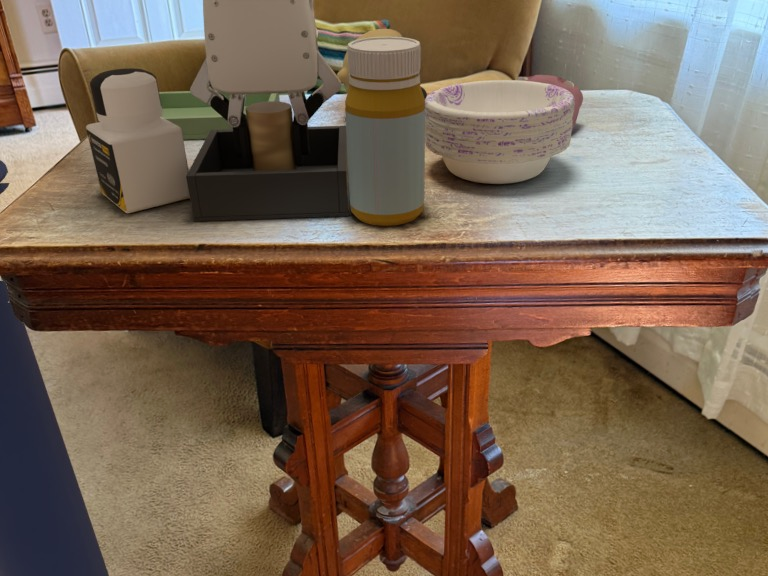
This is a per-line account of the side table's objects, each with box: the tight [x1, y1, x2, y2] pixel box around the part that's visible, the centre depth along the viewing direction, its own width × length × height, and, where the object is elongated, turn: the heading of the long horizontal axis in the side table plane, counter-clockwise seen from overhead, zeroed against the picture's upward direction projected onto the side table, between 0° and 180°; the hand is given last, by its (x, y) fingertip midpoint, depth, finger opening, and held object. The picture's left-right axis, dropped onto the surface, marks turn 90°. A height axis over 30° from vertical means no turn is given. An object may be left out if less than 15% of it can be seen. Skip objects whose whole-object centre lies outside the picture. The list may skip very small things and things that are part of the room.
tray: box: [159, 90, 281, 141], centre depth 98 cm, size 18×14×3 cm
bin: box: [186, 125, 349, 222], centre depth 76 cm, size 15×15×4 cm
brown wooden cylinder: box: [246, 101, 297, 171], centre depth 75 cm, size 4×4×8 cm
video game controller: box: [515, 74, 584, 130], centre depth 93 cm, size 10×5×7 cm, turn 63°
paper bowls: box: [425, 79, 575, 185], centre depth 79 cm, size 15×15×8 cm
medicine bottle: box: [85, 67, 190, 214], centre depth 74 cm, size 7×7×12 cm
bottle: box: [344, 36, 426, 227], centre depth 68 cm, size 7×7×15 cm
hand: (274, 161), depth 76 cm, fingers closed on brown wooden cylinder, 4 cm apart
